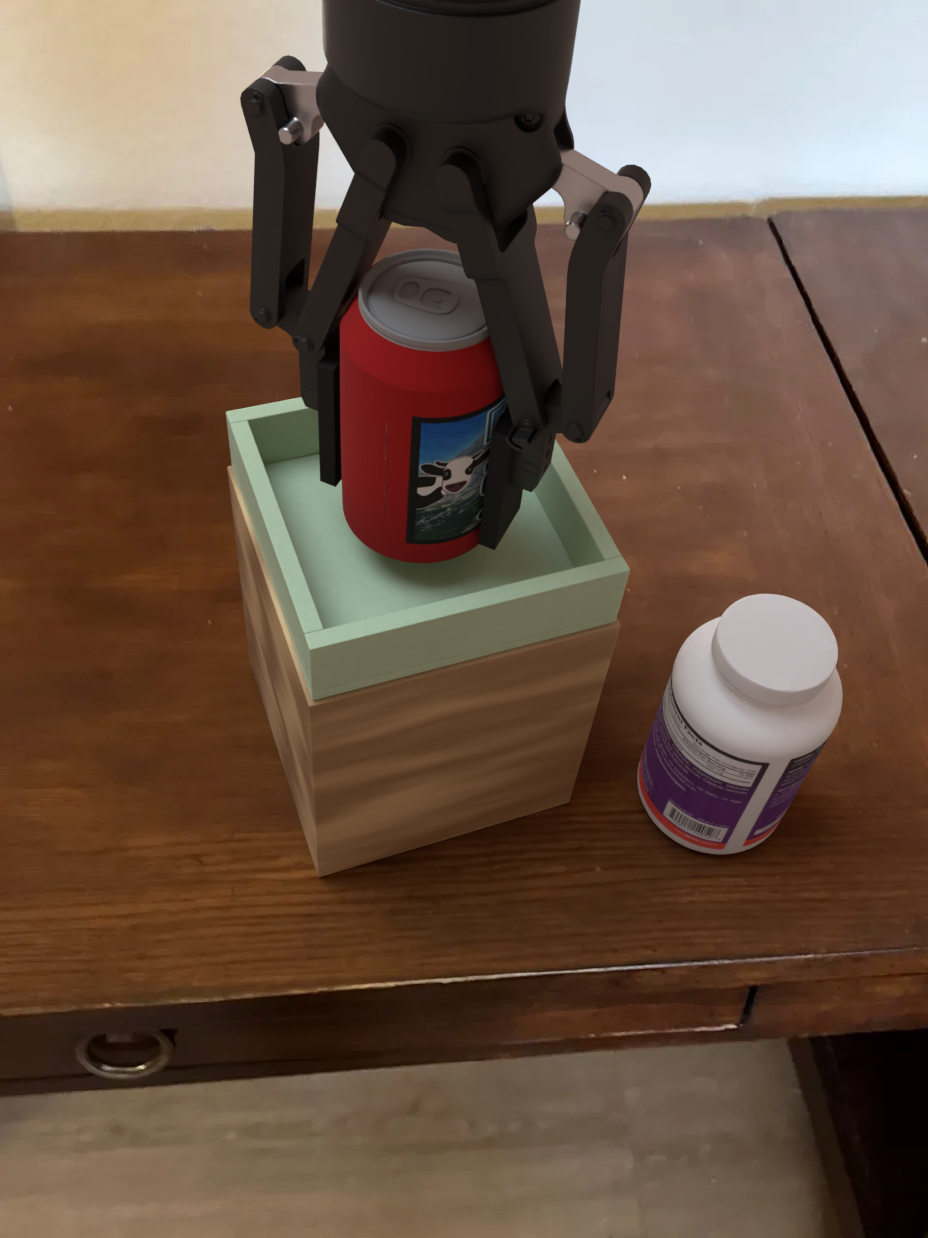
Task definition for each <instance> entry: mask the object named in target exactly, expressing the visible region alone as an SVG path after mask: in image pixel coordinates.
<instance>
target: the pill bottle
mask: <svg viewBox="0 0 928 1238" xmlns="http://www.w3.org/2000/svg"><path fill="white" fill-rule="evenodd" d="M838 646H839V645H838V642H837V639H836V636H835V634H834V632H833V630H832V628H831V626H830V625H829V623H828V622H827V621H826V620H825V619H824V617H823V616H821V615H820V614H819V613H818V612H817V611H815V609H814V608H812V607H811V606H808V605H807V604H806V603H803V602H802V601H800V600H797V599H795V598H792V597H789V596H786V595H781V594H776V593H757V594H752V595H747V596H744V597H742V598H740V599H738V600H736V601H735V602H733V603H731V604H730V605H729V606H728V607H727V608H726V609H725V610H724V612H723V613H722V614H721V616H718V617H716V618H713V619H711V620H709V621H707V622H705V623H703V624H702V625H700V626H699V627H697V628H696V629H694V631H693V632H692V633H690V635H688V636H687V638H686V639H685V641H684V642H683V643H682V645H681V647H680V648H679V650H678V653H677V654H676V656H675V659H674V662H673V665H672V668H671V671H670V674H669V677H668V680H667V683H666V685H665V689H664V691H663V694H662V696H661V699H660V702H659V705H658V708H657V710H656V714H655V717H654V720H653V723H652V724H651V728H650V731H649V732H648V733H649V734H648V735H647V739H646V741H645V744H644V747H643V750H642V753H641V755H640V759H639V762H638V767H637V773H636V774H637V776H636V782H637V783H636V784H637V789H638V795H639V797H640V801H641V803H642V805H643V807H644V810H645V812H646V813H647V815H648V816H649V818H650V819H651V821H652V822H653V823H654V825H656V827H657V828H658V829H659V830H660V831H661V832H662V833H663V834H664V835H666V836H667V837H668V838H670V839H671V840H673V841H674V842H675V843H677V844H679V845H681V846H683V847H685V848H688V849H690V850H693V851H696V852H700V853H705V854H710V855H731V854H737V853H743V852H745V851H747V850H751V849H752V848H754V847H756V846H758V845H760V844H761V843H762V842H764V841H765V840H766V839H767V838H769V836H771V835H772V833H774V831H775V830H776V828H777V827H778V826H779V824H780V822H781V821H782V819H783V817H784V816H785V814H786V812H787V810H788V808H789V807H790V805H791V804H792V802H793V800H794V798H795V796H796V795H797V793H798V791H799V790H800V788H801V786H802V784H803V783H804V781H805V780H806V777H807V776H808V774H809V772H810V771H811V769H812V767H813V766H814V764H815V762H816V760H817V759H818V757H819V755H820V754H821V752H822V750H823V748H824V747H825V745H826V743H827V742H828V740H829V738H830V736H831V735H832V733H833V731H834V730H835V728H836V726H837V724H838V722H839V720H840V716H841V712H842V707H843V696H844V695H843V686H842V685H843V684H842V681H841V677H840V675H839V674H840V673H839V672H838V669H837V668H836V667H837V663H838V659H839V648H838Z"/></svg>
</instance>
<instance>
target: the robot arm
mask: <svg viewBox="0 0 928 1238" xmlns="http://www.w3.org/2000/svg"><path fill="white" fill-rule="evenodd" d="M581 3H582V0H321V30H322V31H321V33H322V34H321V35H322V36H321V37H322V49H323V53H324V56H325V60H326V66H325V68H324V70H323V71H310V70H307V68H306V66H305V65H304V64H303V62H302V61H301V60H300V59H298V58H297V57H295V56H292V55H289V54H287V55H283V56H281V58H279V59H278V60H277V61H276V62H274V63H273V64H272V65H271V66H270V67H269V68H267V69H266V70H265V71H264V72H263V73H262V74H260V76H259V77H257V78H256V79H255V80H254V81H253V82H251V84H249V85H248V86H247V87H246V88H245V89H244V90H242V92H241V94H240V97H239V100H240V107H241V110H242V114H243V118H244V122H245V124H246V128H247V132H248V135H249V139H250V142H251V145H252V149H253V152H254V164H253V191H252V192H253V196H252V224H251V225H252V226H251V227H252V228H251V257H250V259H251V260H250V285H249V286H250V288H249V289H250V291H249V313H250V316H251V318H252V320H253V321H254V322H255V323H256V324H257V325H259V327H261V328H264V329H266V330H272V329H274V328H275V327H276V326H277V327H278V328H280V329H281V330H283V332H285V333H286V334H288V335H289V336H290V337H291V343H292V345H293V347H294V348H295V350H296V351H297V352H298V365H299V366H298V368H299V385H300V386H299V387H300V388H299V389H300V397H302V400H303V402H304V404H305V406H306V407H308V408H311V409H314V410H316V411H318V428H319V459H320V481H321V482H324V483H326V484H329V485H331V486H334V487H336V486H337V485H338V483H339V482H340V481H341V479H342V474H341V430H340V323H341V319H342V316H343V313H344V311H345V309H346V307H347V305H348V304H349V302H350V301H351V299H352V298H353V297H354V295H355V294H356V292H357V291H358V290H359V286H360V283H361V280H362V278H363V276H364V275H365V273H366V272H367V271H368V270H369V269H370V268H371V267H372V266H373V265H374V264H375V263H374V262H375V260H376V258H377V257H378V254H379V252H380V249H381V247H382V245H383V243H384V241H385V238H386V236H387V235H388V232H389V230H390V228H391V226H392V224H393V223H394V224H397V225H399V226H401V227H412V228H413V227H414V228H422V229H423V228H424V229H425V230H428V231H429V232H431V233H433V234H434V235H436V236H438V237H439V238H441V239H443V240H444V241H447V242H449V243H452V244H455V245H456V247H457V251H458V253H459V255H460V258H461V262H462V266H463V270H464V273H465V275H466V277H467V278H468V279H473V280H474V281H475V283H476V287H477V291H478V294H479V298H480V302H481V306H482V309H483V313H484V317H485V321H486V325H487V328H488V332H489V336H490V340H491V343H492V347H493V351H494V355H495V358H496V362H497V366H498V370H499V374H500V377H501V381H502V385H503V389H504V392H505V396H506V400H507V404H508V408H507V409H506V411H505V412H504V414H503V415H502V417H501V418H500V420H499V421H498V423H497V424H496V426H495V427H494V429H493V430H492V437H491V445H490V453H489V461H488V469H487V477H486V486H485V494H484V502H483V510H482V518H481V526H480V534H479V542H478V544H480V545H482V546H485V547H487V548H490V549H492V550H495V549H496V547H497V546H498V544H499V542H500V541H501V539H502V537H503V536H504V534H505V532H506V531H507V529H508V527H509V526H510V524H511V522H512V521H513V519H514V517H515V516H516V514H517V512H518V511H519V509H520V505H521V499H522V493H523V489H524V490H526V491H529V492H532V491H533V490H534V489H535V488H536V487H537V485H538V484H539V482H540V480H541V479H542V477H543V475H544V474H545V472H546V470H547V469H548V467H549V465H550V464H551V460H552V454H553V449H554V443H555V439H556V438H557V434H562V436H564V438H565V439H566V440H568V441H570V442H572V443H574V444H580V445H581V444H585V443H587V442H589V441H590V439H591V438H592V435H593V434H594V432H595V431H596V429H597V427H598V426H599V424H600V422H601V420H602V418H603V417H604V414H605V413H606V411H608V408H609V407H610V405H611V403H612V401H613V400H614V396H615V390H616V379H617V368H618V367H617V366H618V356H619V345H620V333H621V322H622V311H623V301H624V290H625V289H624V288H625V278H626V266H627V256H628V245H629V232H630V230H631V229H632V226H633V225H634V222H635V220H636V219H637V217H638V215H639V213H640V211H641V209H642V207H643V206H644V204H645V202H646V200H647V198H648V195H649V194H650V192H651V188H652V178H651V177H650V175H649V173H648V171H646V170H645V169H644V168H643V167H642V166H639V165H636V164H626V165H623V166H621V167H620V168H619V169H618V171H617V172H616V173H615V172H614V171H612V170H610V169H608V168H607V167H605V166H603V165H602V164H600V163H598V162H596V161H595V160H593V159H591V158H589V157H588V156H586V155H585V154H583V153H581V152H579V151H577V150H575V138H574V133H573V131H572V128H571V125H570V122H569V118H568V114H567V108H566V107H567V105H566V103H567V93H568V88H569V85H570V84H569V83H570V77H571V73H572V66H573V65H572V64H573V58H574V51H575V44H576V37H577V30H578V24H579V17H580V10H581ZM324 125H325V126H326V127H327V129H328V131H329V133H330V134H331V136H332V137H333V139H334V141H335V143H336V145H337V146H338V148H339V150H340V151H341V154H342V155H343V157H344V159H345V160H346V162H347V164H348V165H349V167H350V169H351V170H352V172H353V176H352V179H351V180H350V183H349V186H348V188H347V191H346V193H345V196H344V198H343V201H342V203H341V206H340V208H339V211H338V213H337V216H336V218H335V223H336V224H337V225H336V227H335V230H334V233H333V235H332V238H331V240H330V242H329V245H328V247H327V250H326V252H325V254H324V256H323V260H322V262H321V264H320V266H319V268H318V272H317V274H316V276H315V279H314V281H313V283H312V285H311V289H309V280H310V268H311V256H312V255H311V254H312V243H313V230H314V220H315V219H314V218H315V205H316V195H317V194H316V193H317V181H318V171H319V170H318V169H319V157H320V145H321V144H320V140H321V137H320V136H321V133H320V132H321V131H320V130H321V129H322V128H323V127H324ZM551 189H552V190H553V191H555V192H556V193H557V194H558V195H559V196H560V198H561V200H562V202H563V206H564V207H563V208H564V209H563V224H564V225H565V226H564V228H563V232H564V235H565V237H566V238H567V239H569V240H570V241H575V242H574V244H573V247H572V250H570V255H569V259H568V265H567V272H566V289H565V307H564V309H565V312H564V329H563V331H564V332H563V334H564V335H563V352H562V353H563V354H562V361H561V356H560V352H559V348H558V343H557V339H556V333H555V330H554V324H553V321H552V316H551V312H550V307H549V302H548V299H547V294H546V289H545V285H544V281H543V276H542V271H541V267H540V262H539V258H538V253H537V248H536V242H535V241H536V235H537V231H538V221H537V216H536V211H535V207H534V203H536V202H537V201H538V200H539V199H540V198H541V197H543V196H544V195H545V194H546V193H548V192H549V191H550V190H551Z"/></svg>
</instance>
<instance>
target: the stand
mask: <svg viewBox="0 0 928 1238" xmlns="http://www.w3.org/2000/svg"><path fill="white" fill-rule="evenodd" d="M226 471H227V478H228V479H227V480H228V486H229V495H230V496H229V497H230V502H231V513H232V521H233V528H234V538H235V544H236V554H237V562H238V571H239V579H240V587H241V588H240V589H241V597H242V605H243V613H244V623H245V629H246V630H245V631H246V638H247V647H248V655H249V656H248V657H249V664H250V666H251V670H252V673H253V676H254V679H255V683H256V686H257V689H258V692H259V695H260V697H261V701H262V705H263V708H264V712H265V715H266V716H267V720H268V723H269V727H270V730H271V733H272V737H273V739H274V743H275V745H276V749H277V752H278V756H279V759H280V762H281V764H282V765H281V766H282V768H283V770H284V774H285V777H286V780H287V783H288V787H289V790H290V792H291V797H292V800H293V802H294V806H295V809H296V812H297V815H298V819H299V821H300V825H301V828H302V831H303V834H304V837H305V839H306V843H307V847H308V850H309V853H310V857H311V859H312V863H313V866H314V869H315V872H316V875H317V878H322V877H326V876H329V875H332V874H336V873H339V872H342V871H345V870H348V869H352V868H356V867H359V866H362V865H365V864H369V863H372V862H376V861H380V860H382V859H385V858H389V857H392V856H395V855H399V854H402V853H405V852H409V851H412V850H415V849H419V848H422V847H425V846H429V845H432V844H435V843H438V842H439V843H440V842H442V841H446V840H449V839H452V838H455V837H458V836H462V835H467V834H468V833H469V834H470V833H472V832H475V831H479V830H483V829H486V828H489V827H492V826H497V825H499V824H502V823H506V822H509V821H512V820H516V819H518V818H522V817H526V816H529V815H532V814H535V813H538V812H542V811H545V810H549V809H553V808H555V807H559V806H562V805H565V804H569V803H570V801H571V799H572V798H571V797H572V795H573V791H574V788H575V784H576V780H577V777H578V774H579V771H580V767H581V763H582V760H583V757H584V755H585V750H586V747H587V744H588V741H589V736H590V733H591V729H592V726H593V723H594V719H595V716H596V712H597V709H598V705H599V702H600V700H601V699H600V698H601V695H602V693H603V692H602V691H603V688H604V685H605V681H606V678H607V675H608V672H609V669H610V664H611V662H612V657H613V654H614V651H615V648H616V643H617V640H618V637H619V633H620V631H621V626H622V624H621V622H620V620H619V618H618V617H617V618H616V621H615V622H614V623H610V624H606V625H602V626H598V627H594V628H591V629H587V630H583V631H579V632H575V633H571V634H567V635H564V636H560V637H556V638H552V639H548V640H544V641H541V642H537V643H533V644H529V645H525V646H521V647H517V648H514V649H510V650H506V651H502V652H498V653H494V654H491V655H487V656H483V657H479V658H475V659H471V660H467V661H464V662H460V663H456V664H452V665H448V666H444V667H441V668H437V669H433V670H429V671H425V672H421V673H417V674H414V675H410V676H406V677H402V678H398V679H394V680H391V681H387V682H383V683H379V684H375V685H371V686H367V687H364V688H360V689H356V690H352V691H348V692H344V693H341V694H337V695H333V696H329V697H325V698H321V699H317V700H312V698H311V695H310V693H309V690H308V687H307V684H306V681H305V678H304V675H303V672H302V669H301V666H300V664H299V661H298V658H297V655H296V652H295V649H294V646H293V643H292V640H291V637H290V635H289V632H288V629H287V626H286V623H285V620H284V617H283V614H282V611H281V608H280V606H279V603H278V600H277V597H276V594H275V591H274V588H273V585H272V582H271V579H270V577H269V574H268V571H267V568H266V565H265V562H264V559H263V556H262V553H261V550H260V548H259V545H258V542H257V539H256V536H255V533H254V530H253V527H252V524H251V521H250V519H249V516H248V513H247V510H246V507H245V504H244V501H243V498H242V495H241V492H240V490H239V487H238V484H237V481H236V478H235V475H234V472H233V469H232V465H229V466H227V467H226Z"/></svg>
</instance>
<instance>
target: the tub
mask: <svg viewBox="0 0 928 1238" xmlns="http://www.w3.org/2000/svg"><path fill="white" fill-rule="evenodd" d="M225 418H226V428H227V436H228V437H227V438H228V444H229V452H230V453H229V454H230V461H231V462H230V463H231V466H232V469H233V472H234V475H235V478H236V481H237V484H238V487H239V490H240V492H241V495H242V498H243V501H244V504H245V507H246V510H247V513H248V516H249V519H250V521H251V524H252V527H253V530H254V533H255V536H256V539H257V542H258V545H259V548H260V550H261V553H262V556H263V559H264V562H265V565H266V568H267V571H268V574H269V577H270V579H271V582H272V585H273V588H274V591H275V594H276V597H277V600H278V603H279V606H280V608H281V611H282V614H283V617H284V620H285V623H286V626H287V629H288V632H289V635H290V637H291V640H292V643H293V646H294V649H295V652H296V655H297V658H298V661H299V664H300V666H301V669H302V672H303V675H304V678H305V681H306V684H307V687H308V690H309V693H310V695H311V698H312V700H317V699H321V698H325V697H329V696H333V695H337V694H341V693H344V692H348V691H352V690H356V689H360V688H364V687H367V686H371V685H375V684H379V683H383V682H387V681H391V680H394V679H398V678H402V677H406V676H410V675H414V674H417V673H421V672H425V671H429V670H433V669H437V668H441V667H444V666H448V665H452V664H456V663H460V662H464V661H467V660H471V659H475V658H479V657H483V656H487V655H491V654H494V653H498V652H502V651H506V650H510V649H514V648H517V647H521V646H525V645H529V644H533V643H537V642H541V641H544V640H548V639H552V638H556V637H560V636H564V635H567V634H571V633H575V632H579V631H583V630H587V629H591V628H594V627H598V626H602V625H606V624H610V623H614V622H615V621H616V618H617V619H618V614H619V612H620V607H621V605H622V600H623V597H624V593H625V590H626V587H627V583H628V580H629V576H630V573H631V569H630V567H629V565H628V564H627V562H626V560H625V558H624V557H623V556H622V553H621V552H620V550H619V548H618V547H617V545H616V543H615V541H614V539H613V538H612V536H611V534H610V533H609V530H608V529H607V527H606V525H605V524H604V522H603V520H602V518H601V516H600V515H599V513H598V511H597V509H596V508H595V506H594V504H593V502H592V500H591V499H590V497H589V495H588V494H587V491H586V490H585V488H584V486H583V485H582V483H581V480H580V479H579V477H578V475H577V474H576V472H575V471H574V469H573V467H572V465H571V464H570V462H569V460H568V458H567V456H566V455H565V452H564V451H563V449H562V447H561V445H560V444H559V442H558V440H557V439H556V438H555V443H554V449H553V454H552V460H551V464H550V465H549V467H548V469H547V470H546V472H545V474H544V475H543V477H542V479H541V480H540V482H539V484H538V485H537V487H536V488H535V489H534V490H533V491H532V492H529V491H526V490H524V489H523V493H522V499H521V505H520V509H519V511H518V512H517V514H516V516H515V517H514V519H513V521H512V522H511V524H510V526H509V527H508V529H507V531H506V532H505V534H504V536H503V537H502V539H501V541H500V542H499V544H498V546H497V547H496V549H495V550H492V549H490V548H487V547H485V546H482V545H480V544H478V545H477V546H476V547H475V548H473V549H472V550H470V551H469V552H467V553H465V554H463V555H461V556H459V557H456V558H453V559H450V560H446V561H442V562H436V563H409V562H403V561H399V560H395V559H392V558H389V557H386V556H383V555H381V554H379V553H377V552H375V551H374V550H372V549H370V548H369V547H367V546H366V545H365V544H364V543H362V542H361V541H360V540H359V539H358V538H357V537H356V536H355V534H354V533H353V532H352V530H351V529H350V527H349V525H348V523H347V521H346V519H345V516H344V512H343V504H342V479H341V481H340V482H339V483H338V485H337V486H336V487H334V486H331V485H329V484H326V483H324V482H321V481H320V459H319V428H318V411H316V410H314V409H311V408H308V407H306V406H305V404H304V402H303V400H302V397H301V396H300V397H295V398H294V397H293V398H290V399H284V400H280V401H273V402H268V403H264V404H263V403H262V404H258V405H254V406H253V405H252V406H248V407H243V408H238V409H232V410H227V411H225Z"/></svg>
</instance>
